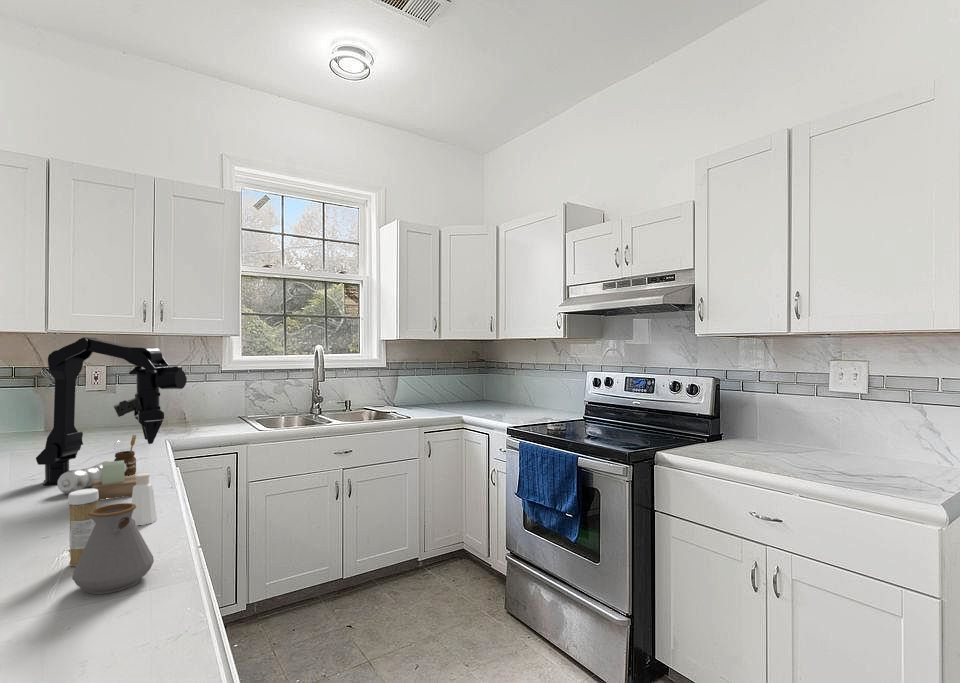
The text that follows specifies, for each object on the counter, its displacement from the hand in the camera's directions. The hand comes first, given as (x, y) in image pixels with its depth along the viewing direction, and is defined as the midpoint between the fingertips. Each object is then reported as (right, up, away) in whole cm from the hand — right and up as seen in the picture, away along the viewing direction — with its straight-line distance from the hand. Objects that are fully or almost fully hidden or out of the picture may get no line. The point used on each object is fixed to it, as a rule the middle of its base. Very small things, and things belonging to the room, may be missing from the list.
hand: (148, 441), depth 159 cm
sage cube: (-2, -9, -13) cm, 15 cm away
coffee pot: (+40, -12, -72) cm, 83 cm away
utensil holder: (-13, -12, +10) cm, 21 cm away
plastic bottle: (-14, -9, -14) cm, 22 cm away
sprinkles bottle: (+25, -12, -59) cm, 65 cm away
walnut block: (-1, -13, -13) cm, 18 cm away
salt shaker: (+21, -12, -37) cm, 44 cm away
